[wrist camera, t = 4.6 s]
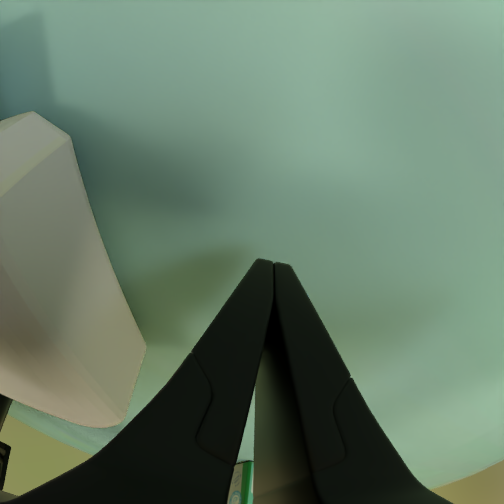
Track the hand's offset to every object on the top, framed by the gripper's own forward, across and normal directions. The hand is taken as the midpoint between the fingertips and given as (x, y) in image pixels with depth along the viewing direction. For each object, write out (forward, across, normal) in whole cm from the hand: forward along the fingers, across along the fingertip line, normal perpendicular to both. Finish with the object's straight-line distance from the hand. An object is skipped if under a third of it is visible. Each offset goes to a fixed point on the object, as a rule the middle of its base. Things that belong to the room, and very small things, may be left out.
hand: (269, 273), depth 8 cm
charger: (+2, +10, 0) cm, 10 cm away
